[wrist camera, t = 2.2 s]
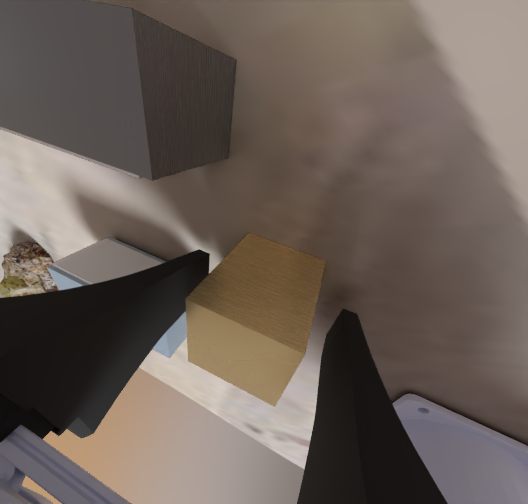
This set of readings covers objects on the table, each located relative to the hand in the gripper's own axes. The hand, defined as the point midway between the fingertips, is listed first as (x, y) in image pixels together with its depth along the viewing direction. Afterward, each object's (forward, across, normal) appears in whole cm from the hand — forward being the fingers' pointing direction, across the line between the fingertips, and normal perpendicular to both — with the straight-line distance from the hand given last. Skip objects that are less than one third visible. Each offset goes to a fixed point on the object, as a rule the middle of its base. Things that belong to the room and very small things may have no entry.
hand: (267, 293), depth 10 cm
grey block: (+1, +8, -7) cm, 11 cm away
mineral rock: (+2, +24, +12) cm, 27 cm away
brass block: (+2, 0, 0) cm, 2 cm away
